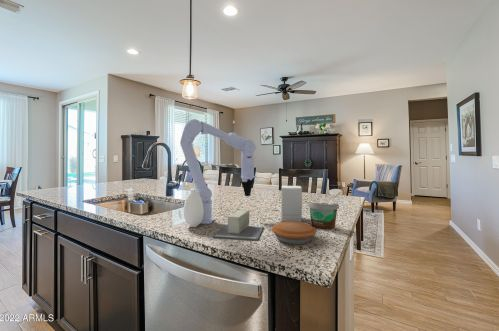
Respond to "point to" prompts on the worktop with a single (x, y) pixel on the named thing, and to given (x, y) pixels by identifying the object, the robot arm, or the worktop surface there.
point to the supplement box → (292, 203)
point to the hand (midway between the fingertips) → (247, 195)
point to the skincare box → (238, 221)
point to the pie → (294, 232)
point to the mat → (246, 234)
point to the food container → (323, 215)
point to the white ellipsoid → (193, 208)
